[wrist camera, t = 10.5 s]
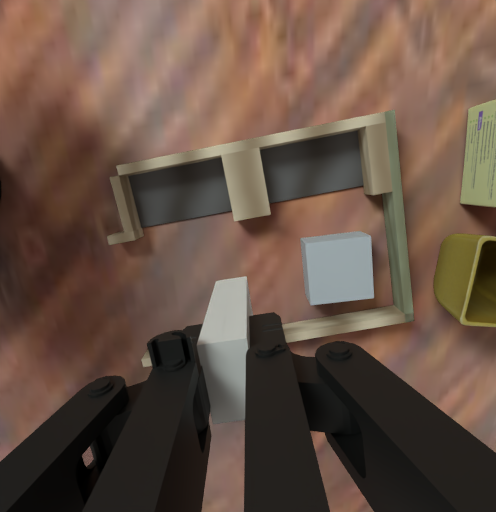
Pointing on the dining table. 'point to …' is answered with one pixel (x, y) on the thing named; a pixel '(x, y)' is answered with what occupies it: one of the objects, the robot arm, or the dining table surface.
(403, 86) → the dining table surface
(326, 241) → the block
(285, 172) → the box
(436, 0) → the dining table surface
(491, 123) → the box
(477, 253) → the flower pot
